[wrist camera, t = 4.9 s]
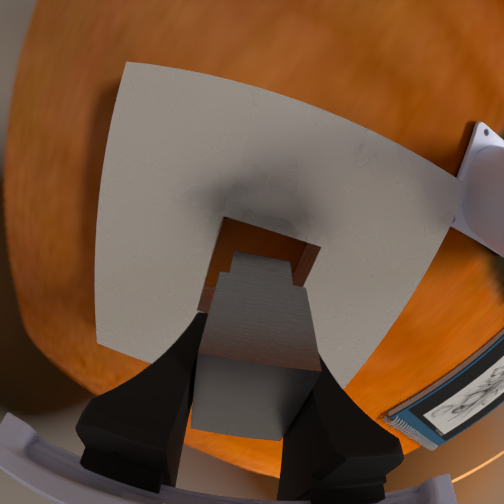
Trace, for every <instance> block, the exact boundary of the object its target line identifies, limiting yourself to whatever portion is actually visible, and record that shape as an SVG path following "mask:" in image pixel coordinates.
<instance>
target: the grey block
mask: <svg viewBox="0 0 504 504" xmlns="http://www.w3.org/2000/svg"><path fill="white" fill-rule="evenodd" d="M321 372H322V370H321V364H320V358H319V353H318V347H317V342H316V336H315V331H314V326H313V320H312V315H311V310H310V305H309V300H308V295H307V290H306V288H305V287H300V286H294V285H293V279H292V273H291V266H290V261H285V260H280V259H275V258H270V257H265V256H260V255H255V254H250V253H245V252H240V251H235V250H234V254H233V259H232V263H231V268H230V272H229V273H226V272H222V271H220V274H219V277H218V281H217V284H216V288H215V292H214V295H213V299H212V302H211V306H210V310H209V313H208V317H207V321H206V324H205V328H204V332H203V336H202V339H201V343H200V347H199V351H198V357H197V366H196V375H195V385H194V395H193V405H192V416H191V427H190V428H193V429H198V430H203V431H208V432H214V433H219V434H225V435H232V436H239V437H246V438H255V439H264V440H275V441H281V439H282V438H283V436H284V434H285V433H286V431H287V430H288V428H289V427H290V425H291V423H292V422H293V420H294V419H295V417H296V415H297V414H298V412H299V410H300V409H301V407H302V405H303V404H304V402H305V400H306V399H307V397H308V395H309V394H310V392H311V390H312V388H313V387H314V385H315V383H316V381H317V379H318V378H319V376H320V374H321Z"/></svg>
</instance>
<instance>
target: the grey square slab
mask: <svg viewBox="0 0 504 504" xmlns="http://www.w3.org/2000/svg"><path fill="white" fill-rule="evenodd" d="M467 187H468V185H466V184H465V183H463V182H462V181H460V180H459V179H457V178H456V177H454V176H452V175H451V174H449V173H448V172H446V171H445V170H443V169H441V168H440V167H438V166H436V165H435V164H433V163H431V162H430V161H428V160H426V159H425V158H423V157H421V156H419V155H418V154H416V153H414V152H412V151H410V150H409V149H407V148H405V147H403V146H401V145H399V144H397V143H395V142H393V141H391V140H389V139H388V138H386V137H384V136H381V135H379V134H377V133H375V132H373V131H371V130H369V129H367V128H365V127H363V126H360V125H358V124H356V123H354V122H351V121H349V120H347V119H344V118H342V117H340V116H337V115H335V114H332V113H330V112H328V111H325V110H322V109H320V108H317V107H315V106H312V105H309V104H307V103H304V102H301V101H298V100H295V99H293V98H290V97H287V96H284V95H281V94H278V93H274V92H271V91H268V90H265V89H261V88H258V87H255V86H251V85H248V84H244V83H240V82H236V81H232V80H229V79H224V78H220V77H216V76H212V75H207V74H202V73H198V72H193V71H187V70H182V69H176V68H171V67H164V66H158V65H150V64H143V63H134V62H126V66H125V69H124V72H123V76H122V79H121V83H120V87H119V90H118V94H117V98H116V102H115V107H114V111H113V115H112V120H111V125H110V130H109V135H108V140H107V145H106V151H105V157H104V163H103V170H102V177H101V185H100V194H99V203H98V214H97V227H96V244H95V318H96V334H97V343H99V344H101V345H103V346H106V347H108V348H111V349H113V350H116V351H118V352H121V353H124V354H126V355H129V356H132V357H134V358H137V359H140V360H143V361H146V362H148V363H151V364H152V363H153V362H155V361H156V360H157V359H158V358H159V357H160V356H161V355H162V354H164V353H165V352H166V351H167V350H168V349H169V348H170V347H171V346H172V345H173V344H174V342H175V341H176V340H177V339H178V338H179V337H180V336H181V334H182V333H183V332H184V331H185V330H186V328H187V327H188V326H189V324H190V323H191V322H192V320H193V319H194V317H195V315H196V314H197V313H198V312H203V313H207V314H208V313H209V310H210V306H211V302H212V299H213V295H214V292H215V287H211V286H208V285H205V284H206V281H207V277H208V273H209V270H210V266H211V263H212V259H213V256H214V252H215V249H216V245H217V242H218V238H219V235H220V231H221V228H222V224H223V221H224V218H225V217H228V218H231V219H235V220H238V221H241V222H244V223H248V224H251V225H254V226H257V227H261V228H264V229H267V230H270V231H273V232H276V233H280V234H283V235H286V236H289V237H292V238H295V239H298V240H301V241H304V242H307V244H306V246H305V248H304V251H303V253H302V255H301V258H300V260H299V262H298V264H297V267H296V269H295V271H294V273H293V276H292V279H293V285H294V286H300V287H305V288H306V290H307V295H308V300H309V305H310V310H311V315H312V320H313V326H314V331H315V336H316V342H317V347H318V352H319V354H320V356H321V357H322V359H323V361H324V362H325V364H326V366H327V367H328V369H329V370H330V372H331V374H332V375H333V377H334V378H335V379H336V381H337V382H338V384H339V385H340V386H341V388H342V389H344V388H345V386H346V385H347V384H348V383H349V382H350V380H351V379H352V378H353V377H354V376H355V374H356V373H357V372H358V371H359V369H360V368H361V367H362V366H363V364H364V363H365V362H366V361H367V359H368V358H369V357H370V355H371V354H372V353H373V351H374V350H375V349H376V347H377V346H378V345H379V343H380V342H381V341H382V339H383V338H384V336H385V335H386V334H387V332H388V331H389V329H390V328H391V326H392V325H393V323H394V322H395V321H396V319H397V318H398V316H399V315H400V313H401V312H402V310H403V309H404V307H405V305H406V304H407V302H408V301H409V299H410V298H411V296H412V294H413V293H414V291H415V290H416V288H417V286H418V285H419V283H420V281H421V280H422V278H423V276H424V274H425V273H426V271H427V269H428V267H429V266H430V264H431V262H432V260H433V258H434V257H435V255H436V253H437V251H438V249H439V247H440V245H441V243H442V241H443V239H444V238H445V236H446V234H447V232H448V229H449V227H450V225H451V223H452V221H453V219H454V217H455V215H456V213H457V210H458V208H459V206H460V204H461V201H462V199H463V197H464V194H465V192H466V190H467Z"/></svg>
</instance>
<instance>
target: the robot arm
mask: <svg viewBox="0 0 504 504" xmlns="http://www.w3.org/2000/svg"><path fill="white" fill-rule="evenodd" d="M484 130H485V131H486V133H485V134H484ZM456 178H457V179H459V180H460V181H462V182H463V183H465V184H466V185H468V187H467V190H466V192H465V194H464V197H463V199H462V201H461V204H460V206H459V208H458V210H457V213H456V215H455V217H454V219H453V221H452V223H451V225H450V226H451V227H453V228H455V229H457V230H458V231H460V232H462V233H464V234H466V235H467V236H469V237H471V238H473V239H474V240H476V241H478V242H479V243H481V244H483V245H484V246H486V247H488V248H489V249H491V250H493V251H494V252H496V253H498V254H499V255H501V256H502V257H504V140H503V139H501V138H500V137H499V136H498V135H497V134H496V133H495V132H494V131H493V130H491V129H490V128H489V127H488V126H487V125H486V124H484V123H483V122H480V121H478V122H476V124H475V126H474V129H473V133H472V136H471V139H470V142H469V145H468V148H467V150H466V153H465V156H464V159H463V162H462V164H461V167H460V169H459V172H458V175H457V177H456ZM207 317H208V314H207V313H203V312H198V313H197V314H196V315H195V317H194V319H193V320H192V322H191V323H190V324H189V326H188V327H187V328H186V330H185V331H184V332H183V333H182V334H181V336H180V337H179V338H178V339H177V340H176V341H175V342H174V344H173V345H172V346H171V347H170V348H169V349H168V350H167V351H166V352H165V353H164V354H162V355H161V356H160V357H159V358H158V359H157V360H156V361H155V362H153V363H152V364H151V365H150V366H148V367H147V368H146V369H144V370H143V371H142V372H140V373H139V374H138V375H136V376H135V377H133V378H132V379H130V380H128V381H126V382H125V383H123V384H121V385H120V386H118V387H116V388H114V389H112V390H110V391H108V392H106V393H104V394H102V395H99V396H97V397H95V398H92V399H91V401H90V402H89V403H88V405H87V406H86V408H85V409H84V411H83V412H82V414H81V416H80V418H79V421H78V423H77V425H76V432H77V434H78V436H79V437H80V439H81V441H82V442H83V443H84V445H85V450H84V453H83V455H82V457H80V456H78V455H76V454H74V453H71V452H69V451H67V450H65V449H63V448H61V447H59V446H57V445H55V444H53V443H51V442H49V441H47V440H45V439H44V438H42V437H40V436H38V434H37V433H36V431H35V430H34V429H33V428H32V427H31V426H29V425H28V424H27V423H25V422H23V421H22V420H20V419H19V418H17V417H15V416H14V415H12V414H11V413H7V414H6V416H5V417H4V419H3V421H2V423H1V425H0V468H1V469H2V470H3V471H5V472H6V473H7V474H9V475H10V476H11V477H13V478H14V479H15V480H17V481H19V482H20V483H22V484H23V485H25V486H26V487H28V488H30V489H31V490H33V491H34V492H36V493H38V494H39V495H41V496H43V497H45V498H47V499H48V500H50V501H52V502H54V503H56V504H163V503H165V504H457V500H456V496H455V492H454V489H453V485H452V481H451V478H450V474H449V473H446V474H443V475H440V476H436V477H433V478H430V479H428V480H426V481H424V482H423V483H421V484H420V485H419V486H415V487H411V488H406V489H402V490H397V491H392V492H387V493H385V492H384V487H383V484H384V483H386V476H385V475H386V474H388V473H389V472H390V471H392V470H393V469H395V468H396V467H397V466H399V465H400V464H401V463H402V461H403V459H404V455H403V451H402V447H401V444H400V441H399V439H398V438H397V437H395V436H394V435H392V434H391V433H389V432H388V431H387V430H385V429H384V428H382V427H381V426H380V425H378V424H377V423H376V422H375V421H373V420H372V419H371V418H370V417H369V416H368V415H367V414H365V413H364V412H363V411H362V410H361V409H360V408H359V407H358V406H357V405H356V404H355V403H354V402H353V401H352V399H351V398H350V397H349V396H348V395H347V394H346V392H345V391H344V390H343V389H342V388H341V386H340V385H339V384H338V382H337V381H336V379H335V378H334V377H333V375H332V374H331V372H330V370H329V369H328V367H327V366H326V364H325V362H324V361H323V359H322V357H321V356H320V354H319V358H320V364H321V370H322V372H321V374H320V376H319V378H318V379H317V381H316V383H315V385H314V387H313V388H312V390H311V392H310V394H309V395H308V397H307V399H306V400H305V402H304V404H303V405H302V407H301V409H300V410H299V412H298V414H297V415H296V417H295V419H294V420H293V422H292V423H291V425H290V427H289V428H288V430H287V431H286V433H285V434H284V436H283V450H282V463H281V472H280V481H279V488H278V495H277V501H271V500H269V501H268V500H253V499H242V498H233V497H224V496H217V495H211V494H204V493H199V492H193V491H188V490H183V489H179V488H175V486H176V479H177V474H178V468H179V463H180V457H181V452H182V446H183V442H184V437H185V432H186V427H187V422H188V417H189V413H190V409H191V406H192V402H193V395H194V385H195V375H196V366H197V357H198V351H199V347H200V343H201V339H202V336H203V332H204V328H205V324H206V321H207ZM318 353H319V352H318Z"/></svg>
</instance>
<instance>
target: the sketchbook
mask: <svg viewBox="0 0 504 504" xmlns="http://www.w3.org/2000/svg"><path fill="white" fill-rule="evenodd" d="M503 402H504V329H503V330H502V331H501V332H500V333H498V334H497V335H496V336H495V337H494V338H493V339H492V340H490V341H489V342H488V343H487V344H486V345H485V346H483V347H482V348H481V349H480V350H479V351H477V352H476V353H475V354H474V355H472V356H471V357H470V358H468V359H467V360H466V361H465V362H463V363H462V364H461V365H459V366H458V367H457V368H455V369H454V370H452V371H451V372H450V373H448V374H447V375H446V376H444V377H443V378H441V379H440V380H438V381H437V382H435V383H434V384H432V385H431V386H429V387H428V388H426V389H425V390H423V391H421V392H420V393H418V394H417V395H415V396H413V397H412V398H410V399H408V400H407V401H405V402H403V403H402V404H400V405H398V406H396V407H395V408H393V409H391V410H389V411H388V414H389V417H390V418H391V419H392V420H391V422H390V418H389V419H388V421H387V416H386V415H385V416H384V421H385V422H386V423H387V424H389V425H390V426H392V427H393V428H395V429H397V430H398V431H400V432H402V433H403V434H404V435H406V436H408V437H410V438H411V439H413V440H414V441H416V442H417V443H419V444H421V445H422V446H424V447H426V448H427V449H429V450H434V449H436V447H438V446H440V445H441V444H443V443H445V442H446V441H448V440H450V439H451V438H453V437H454V436H456V435H458V434H459V433H461V432H463V431H464V430H466V429H467V428H469V427H470V426H472V425H473V424H474V423H476V422H477V421H479V420H480V419H482V418H483V417H484V416H486V415H487V414H488V413H490V412H491V411H492V410H494V409H495V408H496V407H498V406H499V405H500V404H501V403H503ZM397 423H398V424H397ZM395 424H396V425H395ZM404 428H405V429H404ZM406 429H407V430H406ZM408 431H409V432H408ZM410 432H411V433H410ZM412 433H413V434H412ZM411 434H412V435H411ZM413 435H414V436H413ZM417 437H418V438H417ZM419 438H420V439H419ZM421 441H422V442H421Z"/></svg>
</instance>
